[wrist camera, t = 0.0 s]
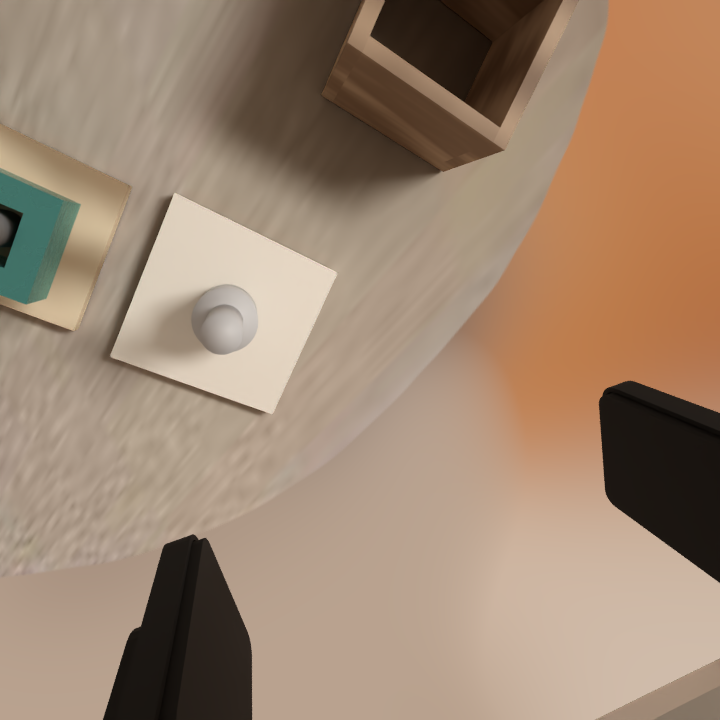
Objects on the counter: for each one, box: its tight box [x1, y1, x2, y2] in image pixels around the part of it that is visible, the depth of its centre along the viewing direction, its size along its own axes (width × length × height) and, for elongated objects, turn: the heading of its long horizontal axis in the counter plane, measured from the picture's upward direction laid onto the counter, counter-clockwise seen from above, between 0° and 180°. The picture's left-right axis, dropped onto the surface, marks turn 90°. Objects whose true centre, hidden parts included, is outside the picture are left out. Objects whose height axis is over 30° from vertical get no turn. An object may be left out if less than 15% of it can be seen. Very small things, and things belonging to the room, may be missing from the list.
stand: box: [0, 124, 132, 331], centre depth 29 cm, size 12×10×8 cm
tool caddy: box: [321, 0, 579, 172], centre depth 31 cm, size 12×12×10 cm
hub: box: [110, 193, 337, 414], centre depth 33 cm, size 14×14×10 cm
